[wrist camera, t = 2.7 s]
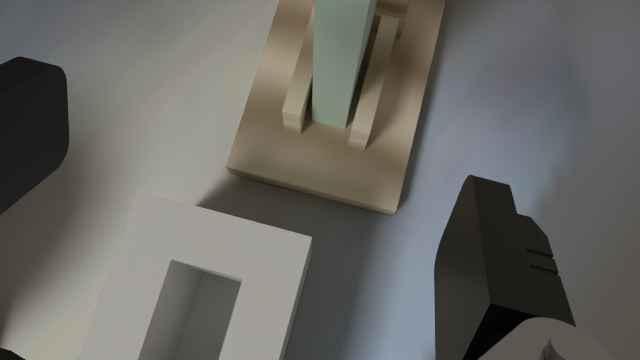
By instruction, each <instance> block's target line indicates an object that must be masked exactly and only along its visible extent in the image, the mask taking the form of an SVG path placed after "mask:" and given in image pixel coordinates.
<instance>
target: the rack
mask: <svg viewBox="0 0 640 360" xmlns="http://www.w3.org/2000/svg"><path fill="white" fill-rule="evenodd" d="M445 3H446V0H411V2H410V6H409V10H408V14H407V18H406V22H405V25H404V28H403V31H402V34H401V37H400V39H396V38H395V34H396V30H397V26H398V23H399V19H398V18H394V17H390V16H386V15H382V16H381V20H380V24H379V28H378V31H377V34H376V33H372V32H370V34H369V39H368V43H367V48H366V53H365V57H364V60H363V64H362V68H361V71H360V75H359V79H358V83H357V86H356V90H355V94H354V97H353V101H352V105H351V109H350V112H349V116H348V120H347V123H346V127H345V129H343V128H339V127H335V126H331V125H327V124H324V123H320V122H316V121H312V90H313V37H314V7H313V10H312V0H280V1H279V4H278V7H277V10H276V13H275V16H274V20H273V23H272V26H271V29H270V32H269V35H268V38H267V41H266V44H265V48H264V51H263V54H262V57H261V60H260V63H259V66H258V69H257V72H256V75H255V79H254V82H253V85H252V88H251V91H250V94H249V97H248V100H247V103H246V107H245V110H244V113H243V116H242V119H241V122H240V125H239V128H238V131H237V135H236V138H235V141H234V144H233V147H232V150H231V153H230V156H229V159H228V163H227V166H226V167H227V169H228V171H229V173H230V174H234V175H238V176H242V177H245V178H249V179H253V180H257V181H261V182H264V183H268V184H272V185H276V186H279V187H283V188H287V189H291V190H295V191H298V192H302V193H306V194H310V195H313V196H317V197H321V198H325V199H328V200H332V201H336V202H340V203H344V204H347V205H351V206H355V207H359V208H362V209H366V210H370V211H374V212H377V213H381V214H385V215H389V216H393V215H394V214H395V212H396V210H397V206H398V202H399V198H400V194H401V189H402V185H403V181H404V177H405V172H406V168H407V164H408V160H409V155H410V151H411V147H412V143H413V138H414V134H415V130H416V126H417V121H418V117H419V113H420V109H421V105H422V100H423V96H424V92H425V88H426V83H427V79H428V75H429V71H430V66H431V62H432V58H433V54H434V49H435V45H436V41H437V37H438V32H439V28H440V24H441V20H442V16H443V11H444V7H445ZM311 12H312V14H311Z"/></svg>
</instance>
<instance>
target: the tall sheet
mask: <svg viewBox="0 0 640 360" xmlns="http://www.w3.org/2000/svg"><path fill="white" fill-rule="evenodd" d="M376 2H377V0H314V37H313V90H312V121H316V122H320V123H324V124H327V125H331V126H335V127H339V128H343V129H345V127H346V123H347V120H348V116H349V112H350V109H351V105H352V101H353V97H354V94H355V90H356V86H357V83H358V79H359V75H360V71H361V68H362V64H363V60H364V57H365V53H366V48H367V43H368V39H369V34H370V30H371V25H372V20H373V16H374V11H375V6H376Z"/></svg>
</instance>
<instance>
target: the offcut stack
mask: <svg viewBox="0 0 640 360" xmlns="http://www.w3.org/2000/svg"><path fill="white" fill-rule="evenodd" d="M410 2H411V0H377V2H376V6H375V11H374V16H373V20H372V25H371V30H370V32H372V33H376V34H377V31H378V28H379V24H380V20H381V16H382V15H386V16H390V17H394V18H398V19H399V23H398V26H397V30H396V34H395V38H396V39H400V37H401V34H402V31H403V28H404V25H405V22H406V18H407V14H408V10H409V6H410ZM313 7H314V0H312V10H313ZM311 14H312V12H311Z"/></svg>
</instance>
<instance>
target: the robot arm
mask: <svg viewBox="0 0 640 360" xmlns="http://www.w3.org/2000/svg"><path fill="white" fill-rule="evenodd" d="M68 145H69V123H68V100H67V80H66V75H65V73H64V71H63V69H62V68H61V67H59V66H56V65H52V64H48V63H44V62H40V61H36V60H33V59H29V58H25V57H16V58H14V59H11V60H9V61H7V62H5V63H3V64H1V65H0V215H1V214H2V213H3V212H4V211H6V210H7V209H8V208H9V207H11V206H12V205H13V204H14V203H15V202H17V201H18V200H19V199H20V198H22V197H23V196H24V195H25V194H26V193H28V192H29V191H30V190H31V189H33V188H34V187H35V186H36V185H38V184H39V183H40V182H41V181H42V180H44V179H45V178H46V177H47V176H49V175H50V174H51V173H52V172H53V171H55V170H56V169H57V168H58V167H59V166H60V165H61V163H62V162H63V160H64V158H65V156H66V153H67V150H68ZM552 258H553V254H552V250H551V247H550V244H549V241H548V238H547V236H546V235H545V234H544V232H543V231H542V230H541V229H540V228H539V226H538V225H537V224H536V223H535V222H534V221H533V219H532V218H531V217H528V216H524V215H520V214H517V211H516V207H515V203H514V199H513V195H512V192H511V188H510V186H509V185H507V184H504V183H500V182H496V181H492V180H488V179H485V178H481V177H477V176H473V175H469V176H468V177H467V178H466V180H465V181H464V183H463V186H462V188H461V191H460V193H459V196H458V198H457V201H456V203H455V206H454V208H453V211H452V213H451V216H450V218H449V221H448V223H447V226H446V228H445V231H444V233H443V236H442V238H441V241H440V244H439V247H438V251H437V255H436V260H435V267H434V288H435V351H436V360H613V358H612V357H611V356H610V354H609V353H608V352H607V351H606V350H605V349H604V348H603V347H602V346H601V345H600V344H599V343H598V342H597V341H595V340H594V339H593V338H592V337H591V336H589V335H588V334H586V333H585V332H583V331H581V330H580V329H578V328H576V325H575V322H574V319H573V316H572V313H571V310H570V306H569V303H568V300H567V297H566V294H565V291H564V288H563V285H562V281H561V278H560V276H558V269H557V266H556V263H555V260H554V259H552ZM0 360H25V359H23V358H22V357H20V356H18V355H17V354H15V353H14V352H12V351H10V350H6V349H3V348H0Z"/></svg>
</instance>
